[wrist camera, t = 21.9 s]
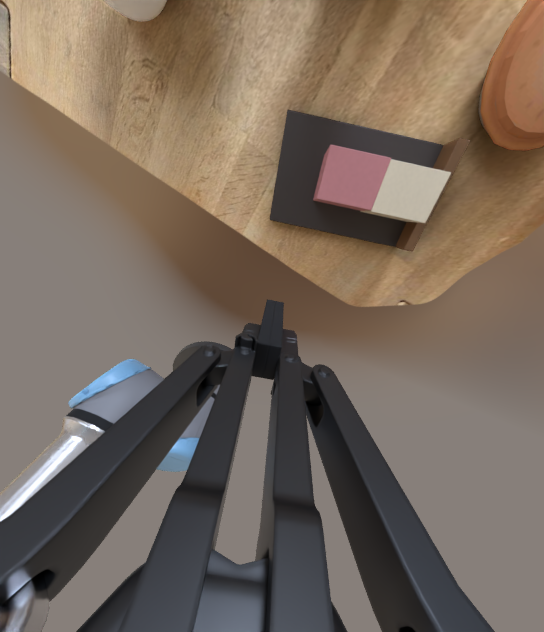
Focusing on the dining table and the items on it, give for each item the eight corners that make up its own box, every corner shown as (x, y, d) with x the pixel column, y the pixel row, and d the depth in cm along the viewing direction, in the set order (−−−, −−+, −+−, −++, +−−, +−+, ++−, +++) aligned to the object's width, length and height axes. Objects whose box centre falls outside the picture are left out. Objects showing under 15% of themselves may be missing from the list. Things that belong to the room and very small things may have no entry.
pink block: (360, 210, 32) (371, 210, 28) (312, 200, 32) (316, 198, 27) (376, 165, 29) (391, 157, 25) (324, 154, 29) (330, 144, 24)
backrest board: (398, 247, 35) (412, 251, 31) (270, 219, 35) (267, 220, 31) (446, 150, 29) (471, 140, 25) (287, 114, 28) (287, 98, 24)
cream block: (406, 221, 32) (425, 223, 28) (359, 211, 32) (371, 211, 28) (427, 178, 29) (451, 172, 25) (376, 167, 29) (391, 159, 25)
